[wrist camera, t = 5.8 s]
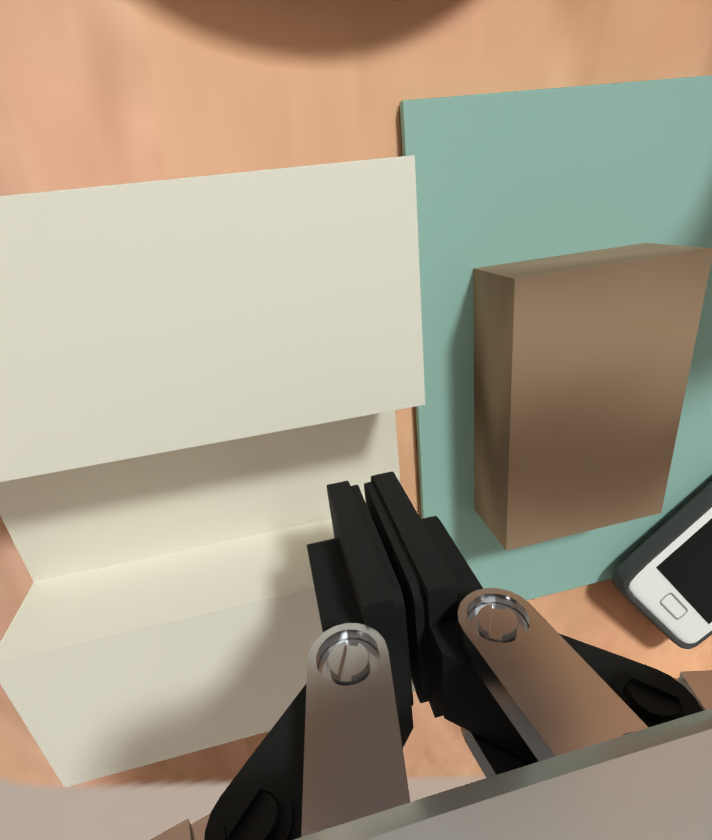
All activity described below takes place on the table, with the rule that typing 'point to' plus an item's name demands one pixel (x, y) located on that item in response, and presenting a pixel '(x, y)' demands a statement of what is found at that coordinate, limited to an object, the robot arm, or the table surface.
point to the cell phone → (675, 574)
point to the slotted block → (191, 440)
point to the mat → (540, 238)
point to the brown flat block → (581, 386)
